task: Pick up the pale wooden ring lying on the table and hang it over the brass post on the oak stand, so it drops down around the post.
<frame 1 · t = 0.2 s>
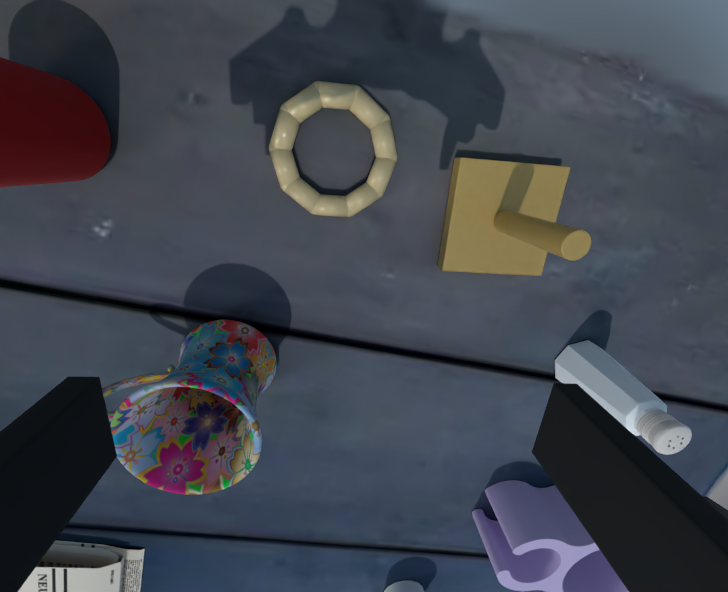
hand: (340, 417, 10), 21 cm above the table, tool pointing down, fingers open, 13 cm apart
clip: (547, 511, 44), on the table
pepper shaker: (576, 361, 36), on the table
mug: (217, 353, 32), on the table
beverage can: (68, 131, 25), on the table
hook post: (496, 218, 30), on the table
ring: (334, 153, 26), point 1 cm above the table
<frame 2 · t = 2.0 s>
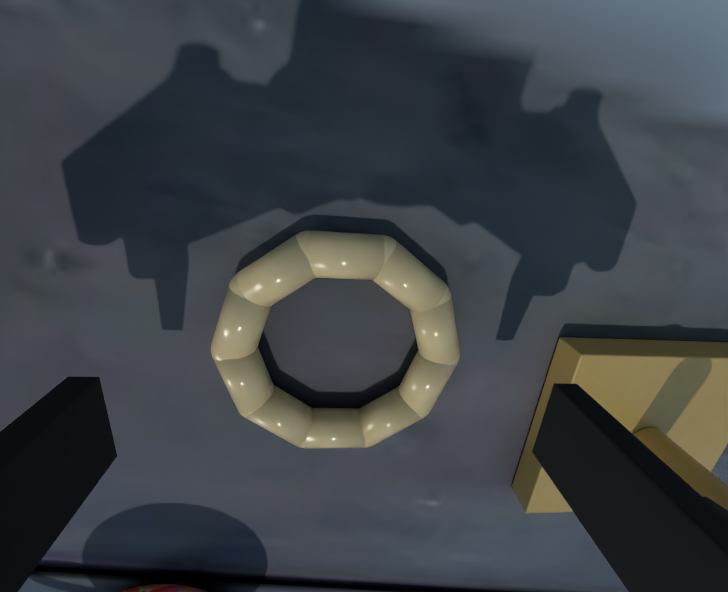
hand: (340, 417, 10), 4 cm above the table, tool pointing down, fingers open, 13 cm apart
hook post: (617, 419, 17), on the table
ring: (340, 350, 13), point 1 cm above the table
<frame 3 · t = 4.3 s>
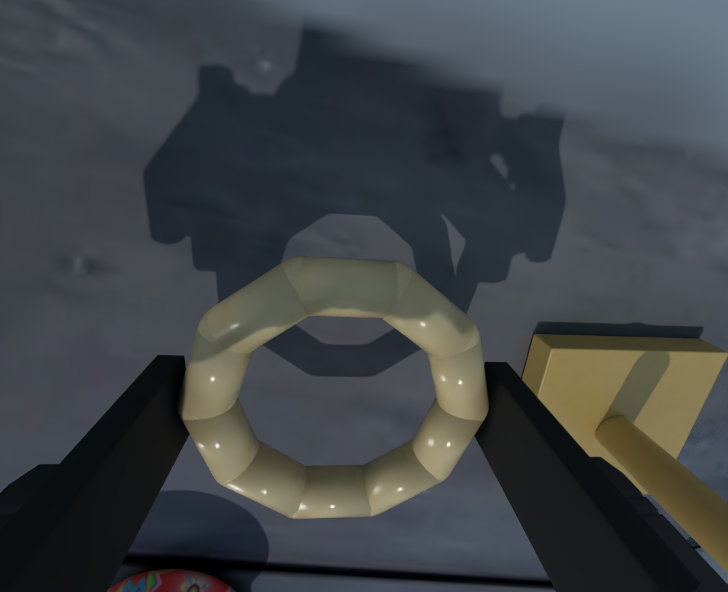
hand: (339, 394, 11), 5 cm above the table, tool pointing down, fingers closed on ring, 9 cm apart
pepper shaker: (684, 568, 25), on the table
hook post: (591, 410, 19), on the table
ring: (340, 401, 11), point 5 cm above the table, touching gripper
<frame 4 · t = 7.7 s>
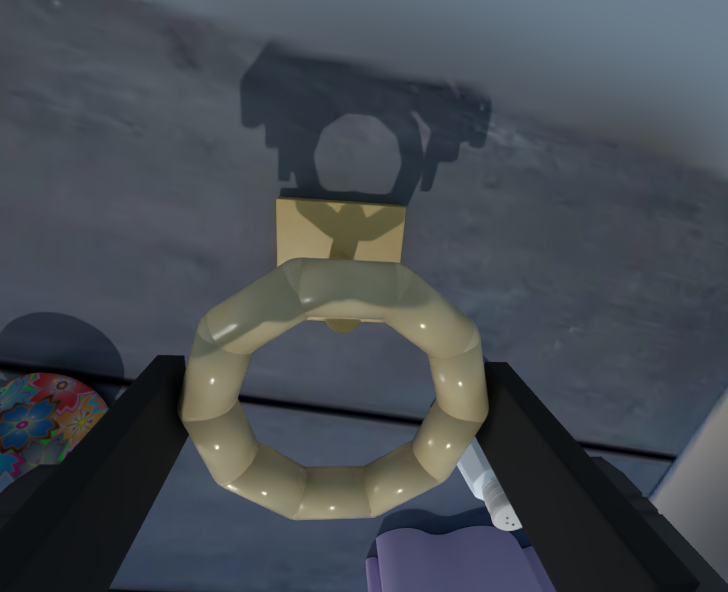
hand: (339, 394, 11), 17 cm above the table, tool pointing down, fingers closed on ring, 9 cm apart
clip: (449, 557, 41), on the table
pepper shaker: (456, 407, 33), on the table
mug: (47, 405, 29), on the table
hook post: (339, 260, 27), on the table
ring: (340, 403, 11), point 17 cm above the table, touching gripper
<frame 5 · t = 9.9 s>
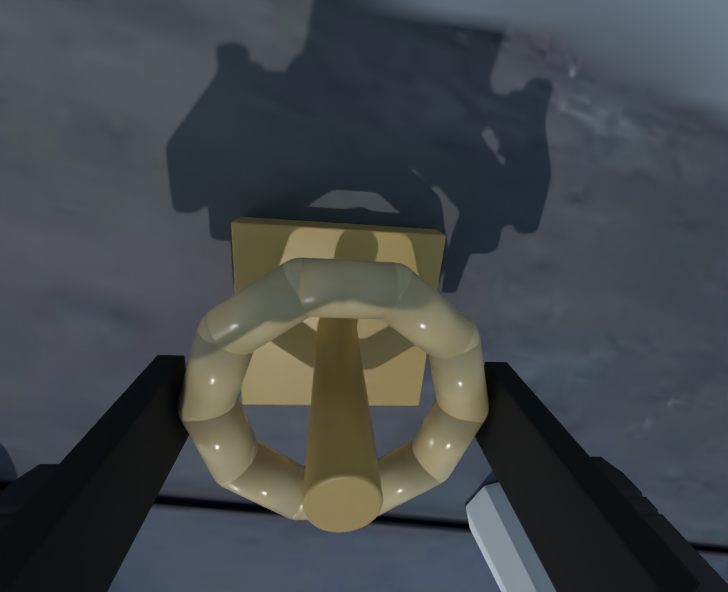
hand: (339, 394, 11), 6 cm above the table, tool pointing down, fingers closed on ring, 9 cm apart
pepper shaker: (501, 503, 24), on the table
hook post: (336, 312, 17), on the table
ring: (340, 403, 11), point 7 cm above the table, touching gripper
when the fingers open (3 cm above the table, at t = 11.4 s): ring drops 1 cm, resting on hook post.
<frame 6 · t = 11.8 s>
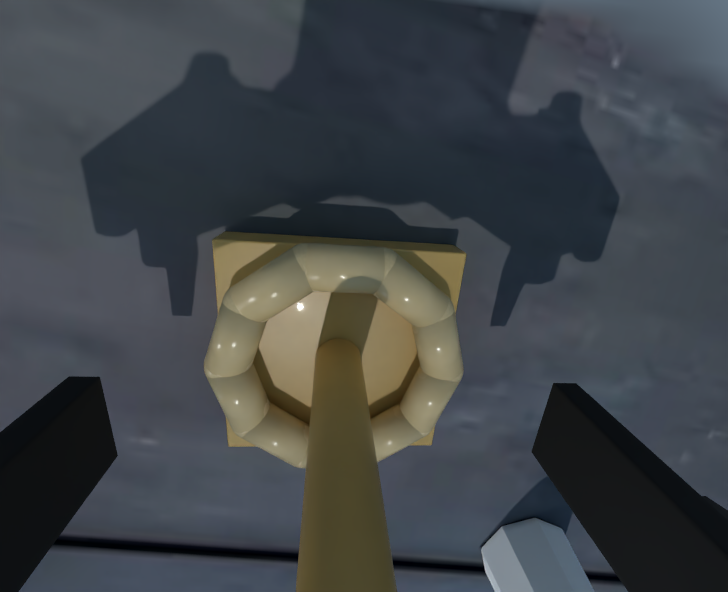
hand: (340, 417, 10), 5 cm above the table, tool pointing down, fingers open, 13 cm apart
pepper shaker: (519, 544, 21), on the table
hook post: (337, 340, 15), on the table
ring: (338, 366, 13), point 2 cm above the table, touching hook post
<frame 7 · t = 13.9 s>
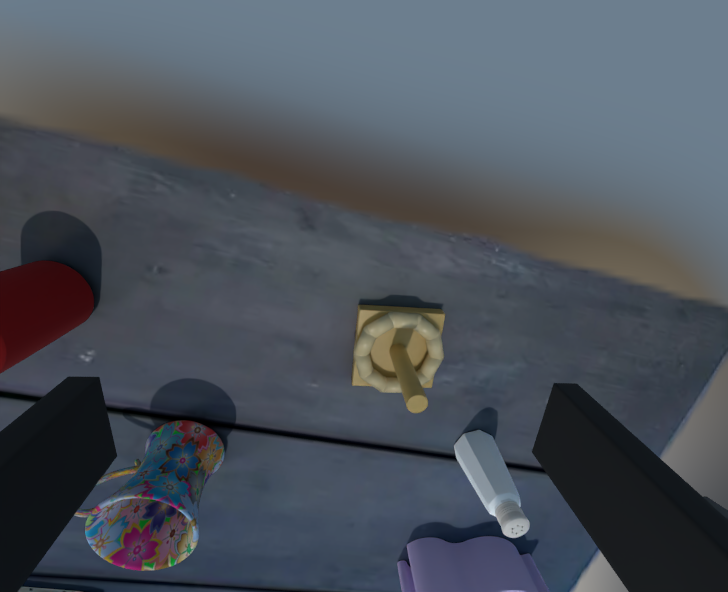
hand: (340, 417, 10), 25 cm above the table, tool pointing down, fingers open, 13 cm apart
clip: (463, 561, 52), on the table
pepper shaker: (472, 444, 44), on the table
mug: (177, 442, 40), on the table
beverage can: (62, 291, 33), on the table
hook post: (395, 344, 38), on the table
ring: (399, 353, 36), point 2 cm above the table, touching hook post
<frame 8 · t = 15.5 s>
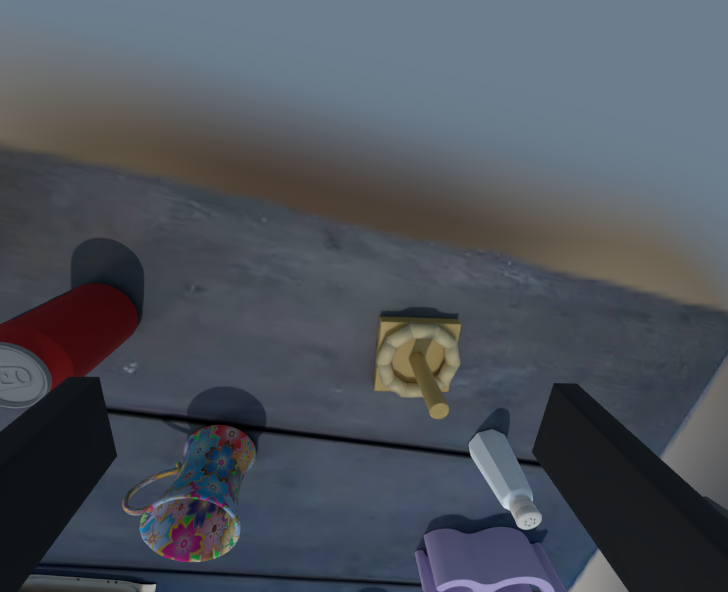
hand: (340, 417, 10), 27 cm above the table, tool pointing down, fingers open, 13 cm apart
clip: (476, 550, 55), on the table
pepper shaker: (486, 443, 47), on the table
mug: (211, 444, 43), on the table
beverage can: (108, 310, 36), on the table
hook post: (413, 352, 41), on the table
ring: (418, 361, 39), point 2 cm above the table, touching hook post
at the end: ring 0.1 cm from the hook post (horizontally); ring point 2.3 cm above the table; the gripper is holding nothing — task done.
